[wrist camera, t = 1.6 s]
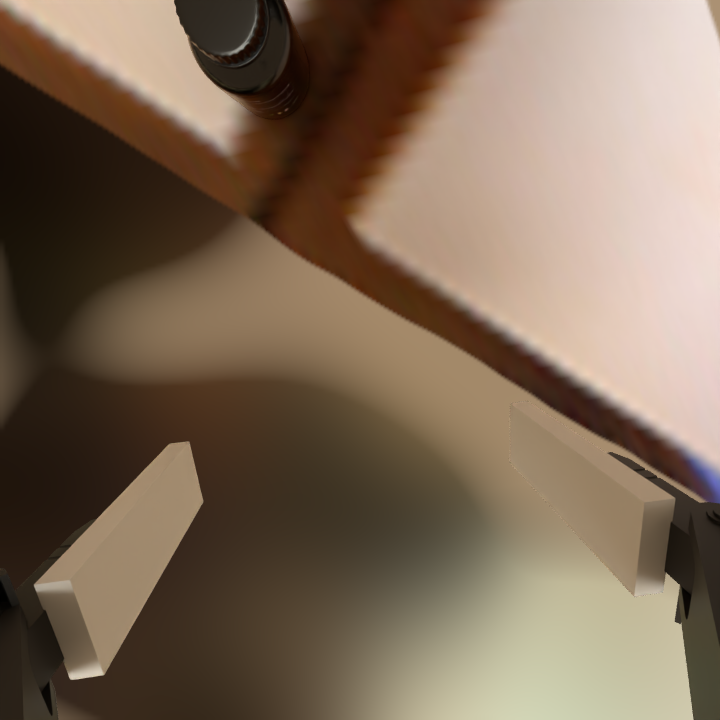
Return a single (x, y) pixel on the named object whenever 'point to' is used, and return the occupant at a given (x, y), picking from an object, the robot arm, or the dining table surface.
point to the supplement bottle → (248, 52)
